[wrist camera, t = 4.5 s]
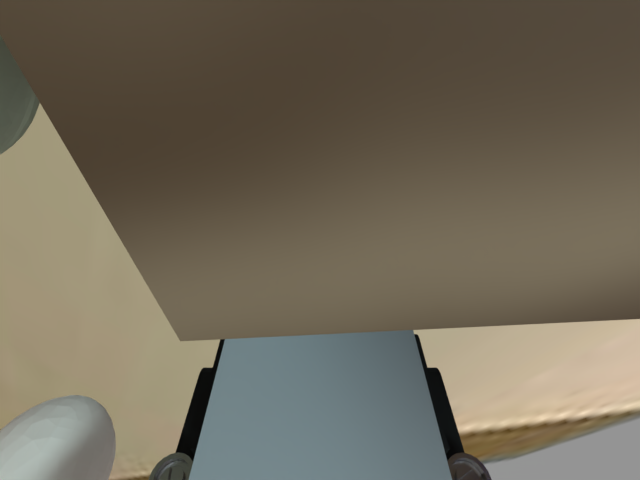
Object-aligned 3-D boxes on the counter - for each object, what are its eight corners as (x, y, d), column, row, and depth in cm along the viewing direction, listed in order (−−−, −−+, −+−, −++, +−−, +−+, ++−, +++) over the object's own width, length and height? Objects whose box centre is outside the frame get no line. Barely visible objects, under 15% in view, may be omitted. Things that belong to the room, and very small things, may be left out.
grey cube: (238, 289, 12) (186, 489, 7) (402, 290, 12) (454, 489, 7) (256, 376, 16) (230, 545, 11) (382, 376, 16) (408, 545, 11)
